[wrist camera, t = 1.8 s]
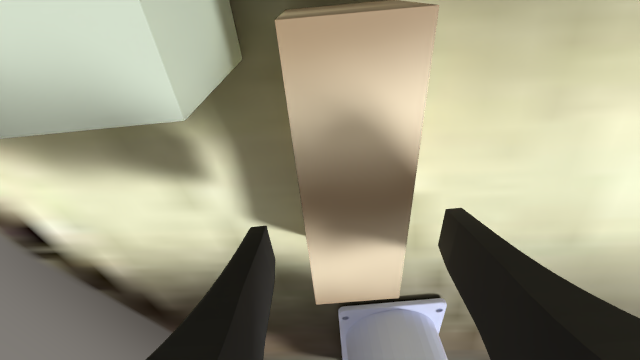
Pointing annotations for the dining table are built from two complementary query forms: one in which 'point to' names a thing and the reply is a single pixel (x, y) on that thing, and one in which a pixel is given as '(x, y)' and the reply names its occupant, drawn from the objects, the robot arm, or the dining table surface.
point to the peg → (356, 136)
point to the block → (109, 62)
